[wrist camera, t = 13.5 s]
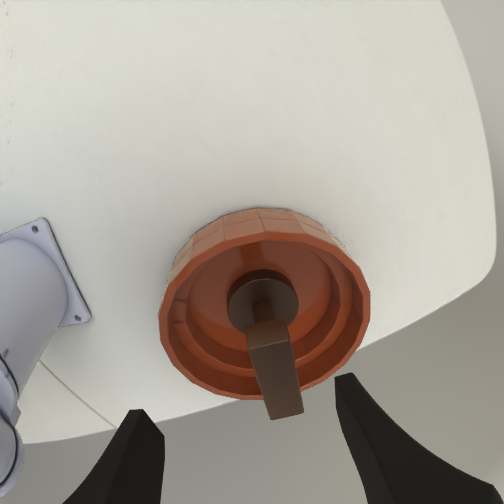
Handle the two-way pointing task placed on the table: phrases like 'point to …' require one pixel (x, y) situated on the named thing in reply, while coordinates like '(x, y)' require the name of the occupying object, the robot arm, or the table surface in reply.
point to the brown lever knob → (268, 336)
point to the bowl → (249, 259)
